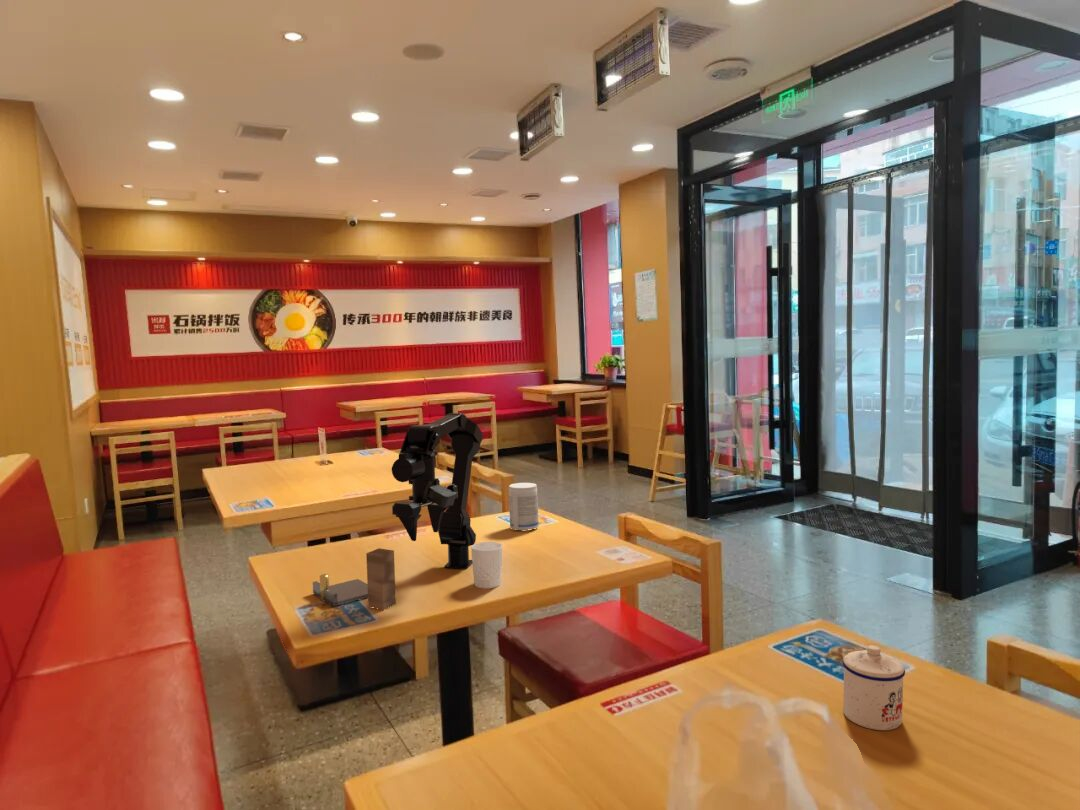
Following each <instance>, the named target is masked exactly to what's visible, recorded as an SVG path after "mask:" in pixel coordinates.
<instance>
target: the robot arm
mask: <svg viewBox="0 0 1080 810" xmlns="http://www.w3.org/2000/svg"><path fill="white" fill-rule="evenodd" d="M483 435H484V434H483V432H482V430H481V429H480V427H479V425H478V424H477V423H475V422H474V421H472V420H471V419H469V418H468V417H467V416H466V414H464V413H460V412H459V413H457V412H451V413H450V412H449V413H446V415H445V416H443V417H441V418H438V419H436V420H434V421H432V422H429V423H427V424H414V425H410V426H409V427H408V429H407V431H406V434H405V437H404V438H403V442H402V445H401V448H400V451H399V453H398V458H397V459H396V460H395V461H394V462H393V464H392V467H391V473H392V476H393V478H394V479H395V480H396V481H397V482H400V483H406V482H407V483H408V485H411V487H412V488H411V491H412V495H409V496H408V500H400V501H397V502H395V503H394V504H392V506H391V510H392V511H391V512H392V513H391V514H392V515H393V516H394V515H395V518H398V520H399V521H400V522H401V524H402V525H403V527H404V529H405V531H406V533H407V534H408V537H409V538H410V540H411V541H412V542H416V541H417V533H418V520H419V519H420V518H421V517H422V514H421V511H422V508H424V507H427V512H428V516H429V520H430V524H431V528H432V531H433V533H438V537H439V540H440V545H447V554H448V555H447V557H448V559H447V560H448V562H446V564H444V566H443V567H444V568H446V569H461V570H462V569H464V570H466V569H468V568H469V567H470V566H471V565H472V559H470V553H469V552H470V551H469V549H470V548H469V547H471V546H472V545H474V544H476V541H477V534H476V533H475V531H474V529H473V528H472V527H471V521H472V519H471V517H470V515H469V513H468V511H467V505H468V497H469V489H470V483H471V481H470V480H471V473H472V466H473V459H474V457H475V456H476V455H477V454H478V453H479V451H480V448H481V443H482V441H483ZM445 436H447V437H448V438H449V439H450V441H451V442H450V446H451V449H452V451H453V454H454V457H455V458H454V463H453V472H452V478H451V479H452V480H451V484H449V485H448V486H446V485H445V486H442V485H441V484H440V480H439V478H436V464H435V463H436V462H435V456H438V451H437V450H436V447H438V446H439V445H440V443H441V439H443V437H445Z"/></svg>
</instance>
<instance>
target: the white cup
mask: <svg viewBox="0 0 1080 810" xmlns="http://www.w3.org/2000/svg"><path fill="white" fill-rule="evenodd" d="M470 549H471V560H472V563H471V565H472V572H473V573H472V574H473V584H474V586H475V587H477V588H480V589H493V588H494V589H495V588H497V587H500V585H501V583H502V567H503V545H502V543H499V542H496V541H481V542H478V543H477V542H475V543H474V545H471V546H470Z"/></svg>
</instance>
